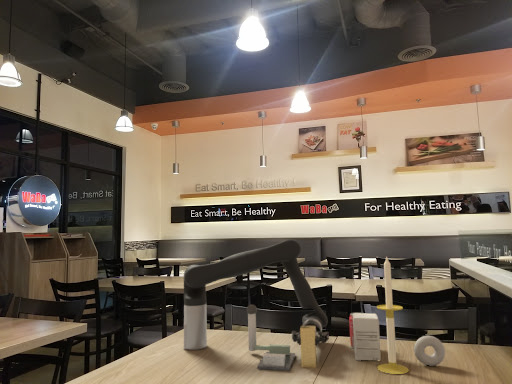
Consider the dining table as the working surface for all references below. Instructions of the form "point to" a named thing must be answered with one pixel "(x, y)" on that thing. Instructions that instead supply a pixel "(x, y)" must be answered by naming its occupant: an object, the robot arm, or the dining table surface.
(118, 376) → the dining table surface
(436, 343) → the donut
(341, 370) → the dining table surface
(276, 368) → the base
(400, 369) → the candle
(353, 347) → the soda can
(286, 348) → the sliding jaw
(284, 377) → the dining table surface
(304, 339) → the brass block
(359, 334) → the supplement box
